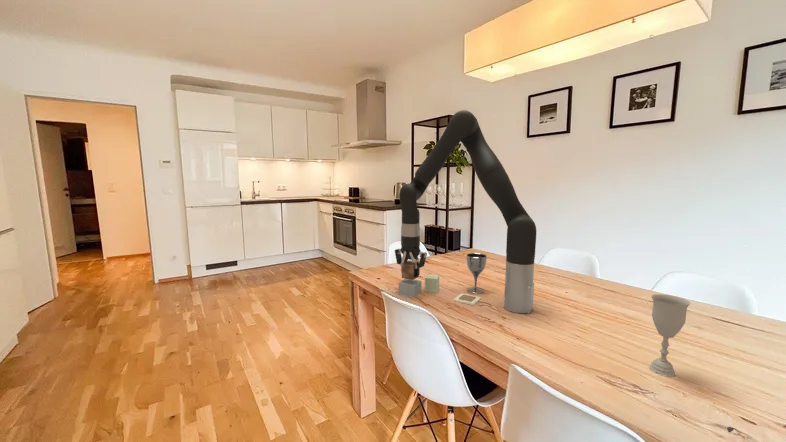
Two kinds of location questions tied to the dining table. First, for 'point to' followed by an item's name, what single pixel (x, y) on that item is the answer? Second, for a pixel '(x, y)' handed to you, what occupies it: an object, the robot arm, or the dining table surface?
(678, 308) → the chalice
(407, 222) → the robot arm
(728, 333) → the dining table surface
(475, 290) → the wine glass
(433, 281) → the sage block
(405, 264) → the walnut block
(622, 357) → the dining table surface
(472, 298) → the tile
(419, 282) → the grey base block
